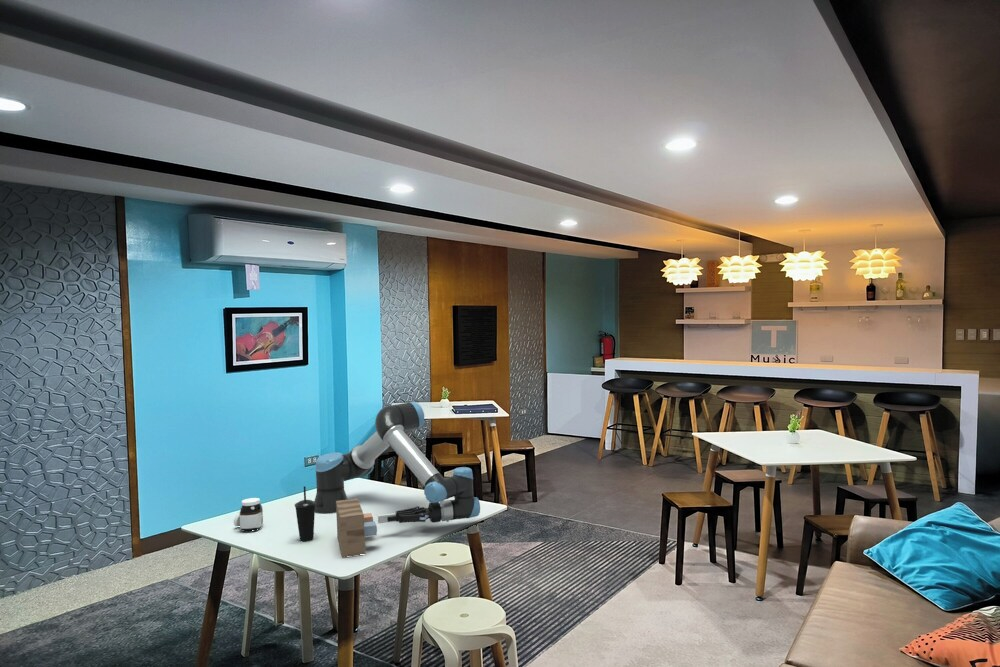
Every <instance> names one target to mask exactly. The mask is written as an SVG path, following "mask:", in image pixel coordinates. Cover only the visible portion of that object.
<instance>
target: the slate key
mask: <svg viewBox="0 0 1000 667" xmlns="http://www.w3.org/2000/svg"><path fill="white" fill-rule="evenodd" d="M377 532H378V525H377V523H376V520H375V521H374V520H373V522H365V523H364V534H365V538H366V537H372V536H378V534H377Z"/></svg>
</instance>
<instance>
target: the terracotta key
mask: <svg viewBox="0 0 1000 667" xmlns="http://www.w3.org/2000/svg"><path fill="white" fill-rule="evenodd" d="M363 514H364V523H365V522H373V521H374V516H373V514H372V513H371V512H370V513H368V512H367V513H363Z"/></svg>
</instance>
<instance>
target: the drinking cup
mask: <svg viewBox="0 0 1000 667" xmlns="http://www.w3.org/2000/svg"><path fill="white" fill-rule="evenodd" d="M306 493H307V489H306V486H304V485H303V499H302V500H300V501H298V502H296V503H294V507H295V512H296V522H297V527H298V535H299V536H298V537H299V541H300V542H301V541H302V543H306V542H307V541H308V542H310V541H313V540H314V533H315V514H316V512H315V504H316V502H315V500H311V499H307V496H306V495H307V494H306ZM308 542H307V543H308Z"/></svg>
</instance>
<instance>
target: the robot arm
mask: <svg viewBox="0 0 1000 667" xmlns="http://www.w3.org/2000/svg"><path fill="white" fill-rule="evenodd" d="M424 423H425V412H424V410H423V407H422V406H421V405H420V404H419V403H417V402H414V401H412V402H411V401H408V402H403V403H398V404H392V405H387V406H384V407H381V409H380V410H379V411H378V413H377V415H376V417H375V422H374V425H375V430H376V431H375V432H374V433H373V434H372V435H371V436H369V438H368V439H367V440H365V442H364V443H363V444H362V445H360V444H359V445H356V446H355V447H353V448H352V449H351V450H350V451H349V452H348V453H342V452H331V453H326V454H325V453H324V454H322V455H320V456H319V457H318V458H317V459H316V461H315V468H314V469H315V477H316V480H315V481H316V483H315V484H316V494H315V497H314V501H315V502H316V504H315V513H317V512H318V513H317V514H330V513H331V514H333V512H334V513H336V501H341V500H349V498H348V495H347V493H346V490H345V482H346V481H349V480H354V479H358V478H363V477H365V476H367V475H369V474H371V473H372V472H373V470H374V468H375V466H374V465H375V461H376V459H377V458H378V457H380V456H381V455H382V453H384V452H385V451H386V450H387V449H388V448H389V447H391V448H392V449H393V451H394V452H395V453H396V455H397V456H399V458H400V459H401V460H402V462H404V464H405V465H406V467H408V469H409V470H410V471H411V472H412V473H413V474H414V476H415V477H416V478H417V479H418V480H419V482H420V483H421V484H422V485H423V487H424V489H423V490H424V491H423V492H424V493H423V494H424V495H425V499H426V500H427V501H428V502H429V503H428V507H424V506H422V507H420V506H415V507H411V508H405V509H400V510H396V511H395V512H394V513H392V512H391V513H385V514H384V513H383V514H379V515H377V522H378V524H385V523H387V524H388V523H393V522H394V523H395V522H398V523H399V524H402V523H419V522H420V523H425V522H426V520H429V521H430V523H433V524H434V523H440V522H441V521H442V522H450V521H455V520H463V519H471V518H476V517H478V516H479V515H480V513H481V503H480V500H479V497H477V496H476V497H475V496H474V475H473V470H472V468H470V467H466V466H462V467H461V466H460V467H456V468H455V469H453V472H452V476H449V477H444V476H443V475H442V474H441V473H440V472H439V471H438V469H437V468H436V467H435V466H434V465H433V463H431V462H430V460H429V459H428V458H427V457H426V455H424V453H423V452H422V451H421V449H419V448H418V445H416V444H415V443H414V441H413V440H412V439H411V438H410V437H409V436H408V435H409V434H410V433H411V432H412V431H414V430H419V429H422V427H423V426H424ZM450 498H453V499H450Z"/></svg>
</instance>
